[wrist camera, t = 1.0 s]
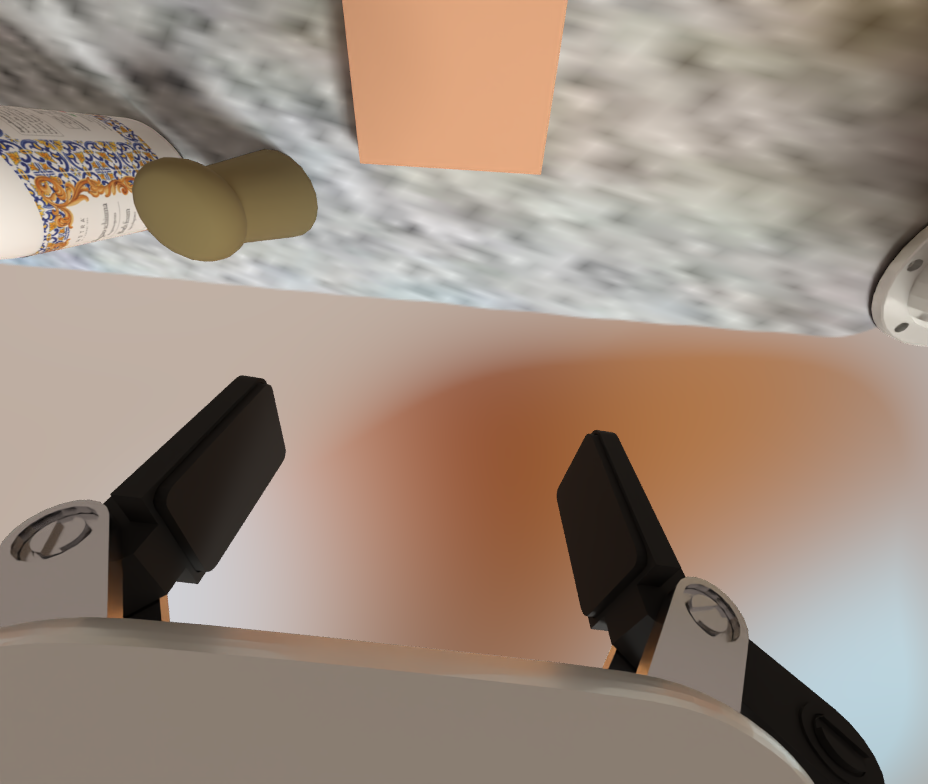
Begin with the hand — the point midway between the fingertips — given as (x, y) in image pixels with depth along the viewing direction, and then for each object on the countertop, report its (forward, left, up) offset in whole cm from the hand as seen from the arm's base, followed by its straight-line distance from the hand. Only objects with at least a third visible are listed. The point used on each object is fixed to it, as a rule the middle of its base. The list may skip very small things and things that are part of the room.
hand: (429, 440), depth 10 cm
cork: (+16, -4, -22) cm, 27 cm away
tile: (+2, -11, -23) cm, 25 cm away
